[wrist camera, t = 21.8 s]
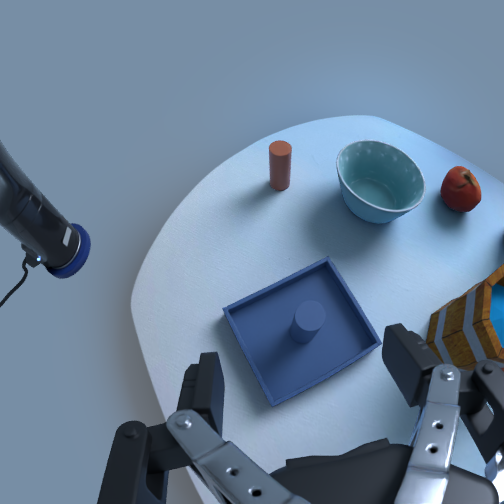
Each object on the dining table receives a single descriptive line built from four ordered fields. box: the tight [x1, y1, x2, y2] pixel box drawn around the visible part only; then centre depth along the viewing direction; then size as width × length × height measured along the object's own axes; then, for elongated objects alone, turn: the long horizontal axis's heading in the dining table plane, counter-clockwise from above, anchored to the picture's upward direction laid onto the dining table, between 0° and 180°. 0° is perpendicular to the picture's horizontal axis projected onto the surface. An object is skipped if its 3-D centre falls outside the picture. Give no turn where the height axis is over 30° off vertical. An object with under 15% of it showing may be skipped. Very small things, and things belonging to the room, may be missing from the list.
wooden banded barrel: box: [426, 264, 504, 372], centre depth 30 cm, size 20×14×15 cm
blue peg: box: [290, 301, 326, 344], centre depth 37 cm, size 4×4×9 cm
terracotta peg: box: [269, 141, 292, 191], centre depth 50 cm, size 4×4×9 cm
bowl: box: [337, 140, 426, 224], centre depth 47 cm, size 16×16×8 cm
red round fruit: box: [441, 166, 481, 212], centre depth 46 cm, size 9×9×8 cm
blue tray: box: [222, 256, 382, 407], centre depth 40 cm, size 17×15×3 cm
